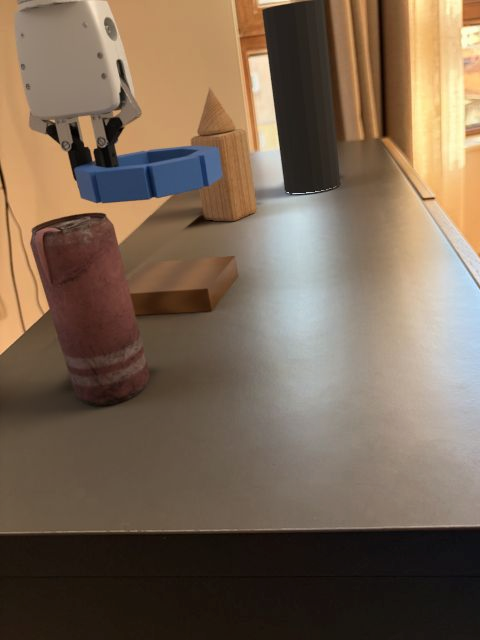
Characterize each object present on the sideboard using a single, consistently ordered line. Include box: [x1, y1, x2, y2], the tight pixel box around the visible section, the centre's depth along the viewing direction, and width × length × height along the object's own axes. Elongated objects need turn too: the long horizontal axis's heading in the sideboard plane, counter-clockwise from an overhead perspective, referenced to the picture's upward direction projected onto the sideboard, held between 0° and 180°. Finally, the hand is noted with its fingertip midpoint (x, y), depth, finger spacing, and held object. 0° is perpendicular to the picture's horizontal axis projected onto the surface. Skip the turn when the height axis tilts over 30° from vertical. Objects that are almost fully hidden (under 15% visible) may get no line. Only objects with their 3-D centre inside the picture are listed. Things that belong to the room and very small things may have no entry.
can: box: [29, 212, 151, 407], centre depth 49 cm, size 6×6×14 cm
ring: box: [74, 145, 223, 204], centre depth 66 cm, size 14×14×3 cm
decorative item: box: [190, 86, 258, 222], centre depth 101 cm, size 7×7×20 cm
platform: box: [127, 255, 239, 316], centre depth 71 cm, size 11×11×2 cm
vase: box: [261, 0, 341, 193], centre depth 111 cm, size 10×10×30 cm
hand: (99, 185), depth 68 cm, fingers closed on ring, 2 cm apart
